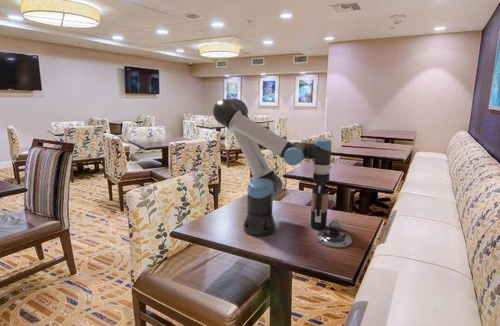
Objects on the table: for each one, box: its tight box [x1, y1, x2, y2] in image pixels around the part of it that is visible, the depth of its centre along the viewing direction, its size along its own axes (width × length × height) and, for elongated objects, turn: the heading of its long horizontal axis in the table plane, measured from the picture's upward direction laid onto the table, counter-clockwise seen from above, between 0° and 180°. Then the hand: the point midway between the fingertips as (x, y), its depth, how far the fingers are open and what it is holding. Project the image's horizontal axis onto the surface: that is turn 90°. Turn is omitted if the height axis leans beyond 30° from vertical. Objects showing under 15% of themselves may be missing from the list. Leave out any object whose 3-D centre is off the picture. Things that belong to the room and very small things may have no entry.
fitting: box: [316, 218, 353, 249], centre depth 142 cm, size 15×22×6 cm
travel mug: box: [310, 185, 330, 231], centre depth 151 cm, size 8×8×20 cm
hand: (318, 218), depth 152 cm, fingers closed on travel mug, 8 cm apart
